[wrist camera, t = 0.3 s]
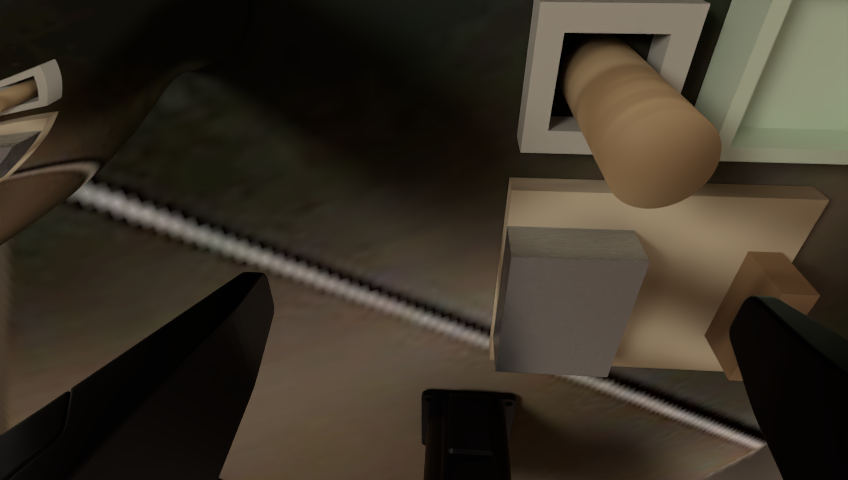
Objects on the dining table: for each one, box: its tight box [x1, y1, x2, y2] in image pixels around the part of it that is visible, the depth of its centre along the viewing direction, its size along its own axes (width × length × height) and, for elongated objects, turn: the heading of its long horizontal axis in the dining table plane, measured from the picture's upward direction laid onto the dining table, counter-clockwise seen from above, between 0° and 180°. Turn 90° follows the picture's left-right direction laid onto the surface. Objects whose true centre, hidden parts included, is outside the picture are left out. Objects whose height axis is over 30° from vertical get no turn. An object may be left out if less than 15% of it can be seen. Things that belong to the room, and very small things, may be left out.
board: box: [489, 177, 829, 381], centre depth 24 cm, size 12×14×4 cm
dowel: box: [559, 34, 721, 209], centre depth 16 cm, size 3×3×8 cm
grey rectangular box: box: [493, 226, 650, 377], centre depth 24 cm, size 8×6×2 cm
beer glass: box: [0, 0, 249, 245], centre depth 13 cm, size 7×7×15 cm
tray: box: [695, 0, 848, 165], centre depth 17 cm, size 7×7×2 cm
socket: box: [517, 0, 710, 154], centre depth 19 cm, size 6×6×2 cm
